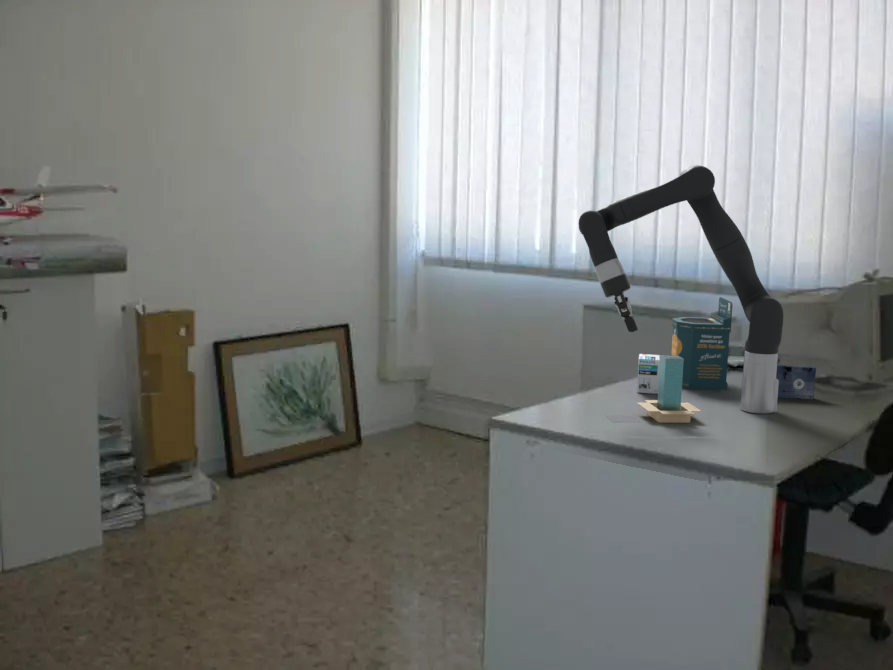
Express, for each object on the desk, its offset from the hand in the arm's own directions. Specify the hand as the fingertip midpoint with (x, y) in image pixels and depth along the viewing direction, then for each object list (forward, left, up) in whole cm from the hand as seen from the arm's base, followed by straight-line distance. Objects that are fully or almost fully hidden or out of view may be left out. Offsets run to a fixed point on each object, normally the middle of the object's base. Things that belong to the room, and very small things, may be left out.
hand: (633, 331), depth 288 cm
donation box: (-33, -39, -23) cm, 56 cm away
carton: (-8, +10, -23) cm, 26 cm away
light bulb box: (-14, -29, -23) cm, 40 cm away
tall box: (-8, +10, -23) cm, 26 cm away
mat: (+5, +11, -23) cm, 26 cm away
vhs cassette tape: (-54, -20, -23) cm, 62 cm away
